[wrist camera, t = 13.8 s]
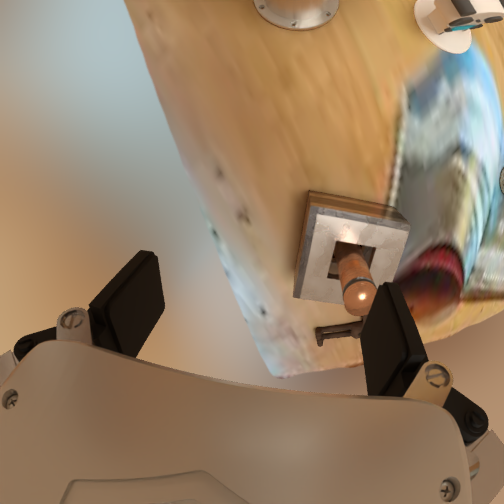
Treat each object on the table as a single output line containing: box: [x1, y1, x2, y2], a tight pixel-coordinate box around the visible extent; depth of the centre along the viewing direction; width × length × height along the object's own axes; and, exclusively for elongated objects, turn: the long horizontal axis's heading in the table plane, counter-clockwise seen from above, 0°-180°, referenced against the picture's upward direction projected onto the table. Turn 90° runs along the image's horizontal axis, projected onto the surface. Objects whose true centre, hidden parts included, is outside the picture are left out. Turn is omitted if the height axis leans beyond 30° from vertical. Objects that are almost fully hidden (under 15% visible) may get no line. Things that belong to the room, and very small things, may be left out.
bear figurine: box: [315, 314, 368, 347], centre depth 50 cm, size 18×4×14 cm
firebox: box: [293, 190, 411, 305], centre depth 40 cm, size 14×14×8 cm
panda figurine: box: [414, 0, 504, 54], centre depth 17 cm, size 12×11×15 cm
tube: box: [334, 241, 377, 316], centre depth 36 cm, size 4×4×17 cm
